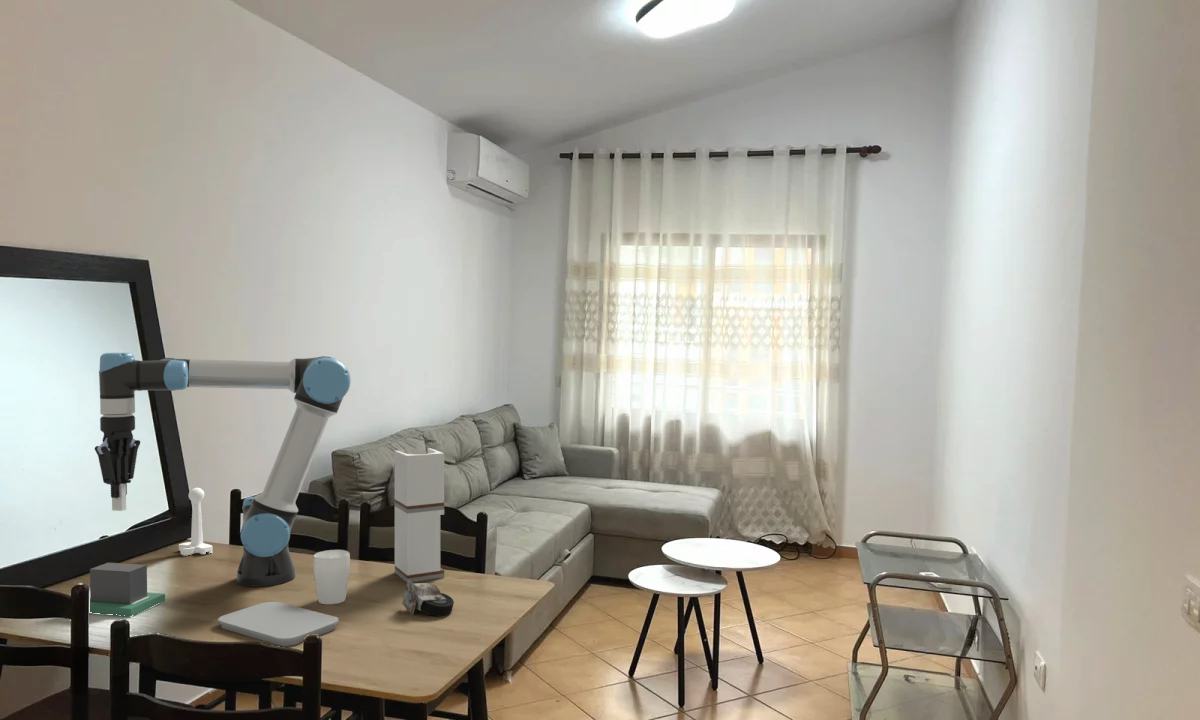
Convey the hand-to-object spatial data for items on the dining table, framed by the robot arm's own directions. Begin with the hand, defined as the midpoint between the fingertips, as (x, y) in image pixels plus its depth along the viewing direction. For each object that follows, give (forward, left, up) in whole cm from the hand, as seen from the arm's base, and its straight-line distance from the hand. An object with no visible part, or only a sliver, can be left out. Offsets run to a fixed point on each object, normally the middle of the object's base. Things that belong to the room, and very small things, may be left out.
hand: (119, 509), depth 212 cm
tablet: (-46, +5, -25) cm, 53 cm away
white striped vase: (-62, -41, -25) cm, 78 cm away
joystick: (+15, -49, -25) cm, 57 cm away
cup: (-49, -15, -25) cm, 57 cm away
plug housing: (0, 0, -22) cm, 22 cm away
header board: (0, 0, -24) cm, 24 cm away
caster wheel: (-76, -12, -25) cm, 81 cm away
